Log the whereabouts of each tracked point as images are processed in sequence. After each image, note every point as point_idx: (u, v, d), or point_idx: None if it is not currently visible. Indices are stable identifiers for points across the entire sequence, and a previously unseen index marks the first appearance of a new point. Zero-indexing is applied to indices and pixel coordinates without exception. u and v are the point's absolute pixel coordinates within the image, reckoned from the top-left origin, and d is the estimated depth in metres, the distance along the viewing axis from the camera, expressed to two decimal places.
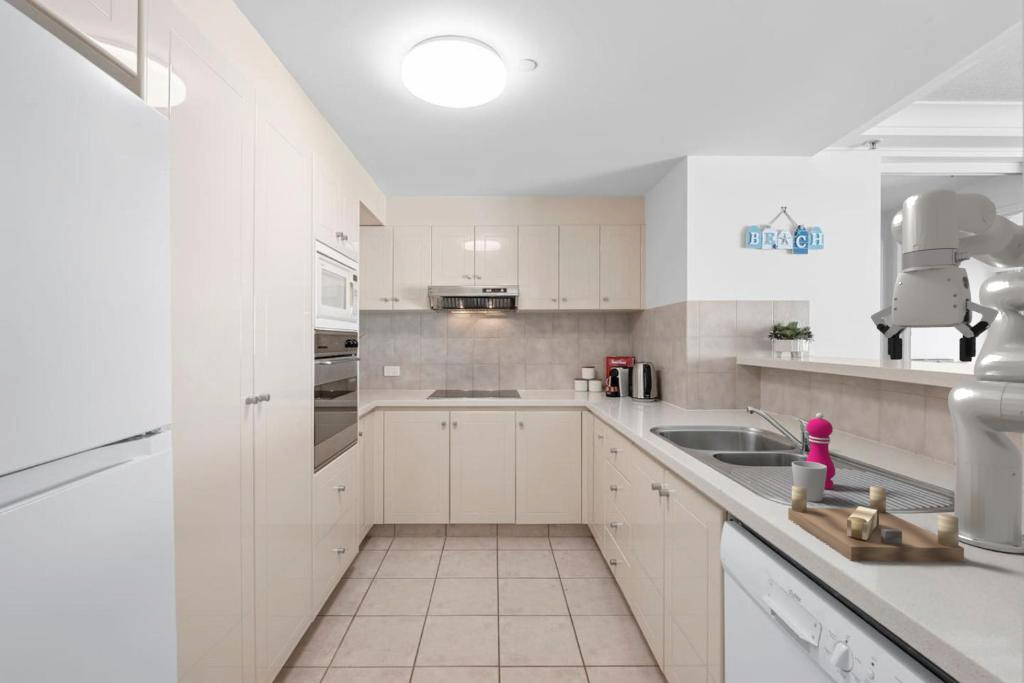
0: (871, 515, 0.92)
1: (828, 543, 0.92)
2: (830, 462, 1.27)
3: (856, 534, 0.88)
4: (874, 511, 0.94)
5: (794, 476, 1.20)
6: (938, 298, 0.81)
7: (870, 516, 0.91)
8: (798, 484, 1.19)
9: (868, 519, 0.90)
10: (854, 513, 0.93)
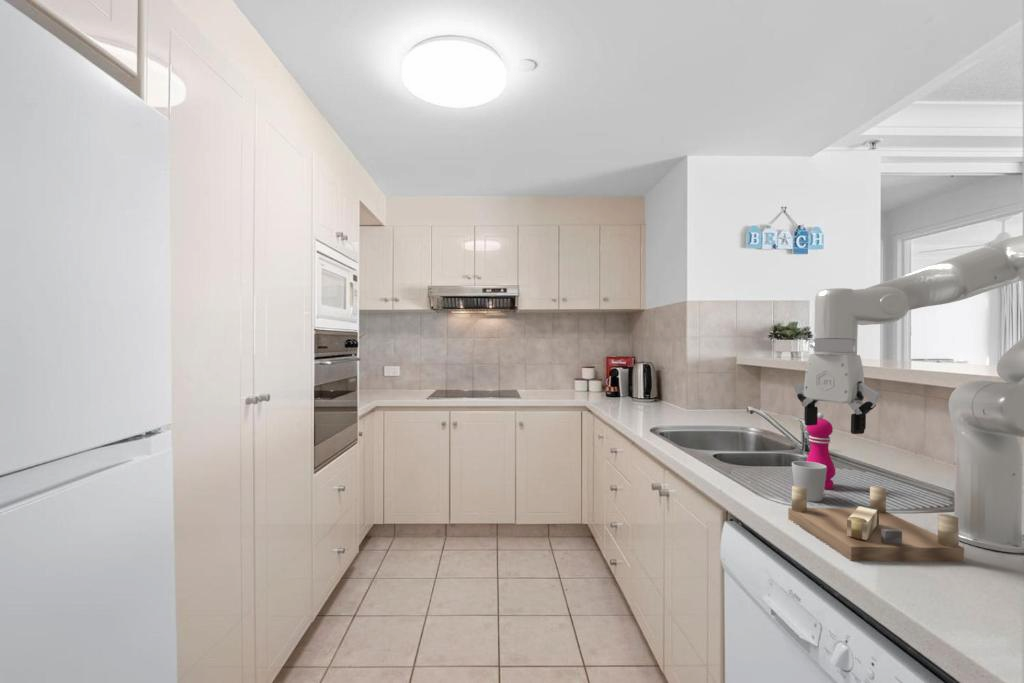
0: (871, 515, 0.92)
1: (828, 543, 0.92)
2: (830, 462, 1.27)
3: (856, 534, 0.88)
4: (874, 511, 0.94)
5: (794, 476, 1.20)
6: None
7: (870, 516, 0.91)
8: (798, 484, 1.19)
9: (868, 519, 0.90)
10: (854, 513, 0.93)
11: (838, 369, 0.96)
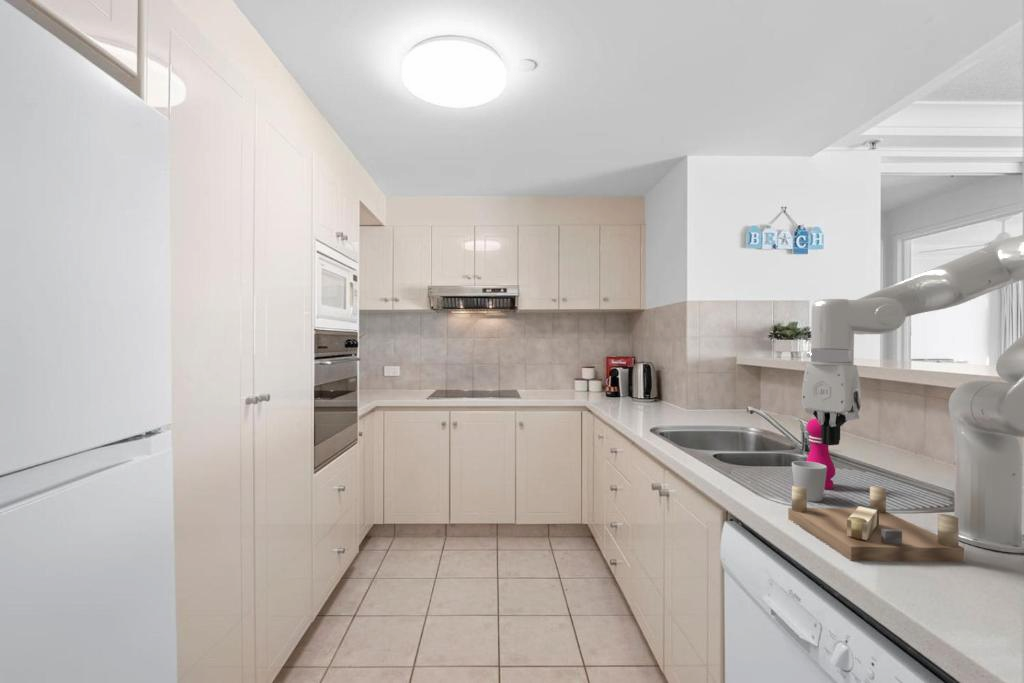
0: (871, 515, 0.92)
1: (828, 543, 0.92)
2: (830, 462, 1.27)
3: (856, 534, 0.88)
4: (874, 511, 0.94)
5: (794, 476, 1.20)
6: None
7: (870, 516, 0.91)
8: (798, 484, 1.19)
9: (868, 519, 0.90)
10: (854, 513, 0.93)
11: (834, 379, 0.97)
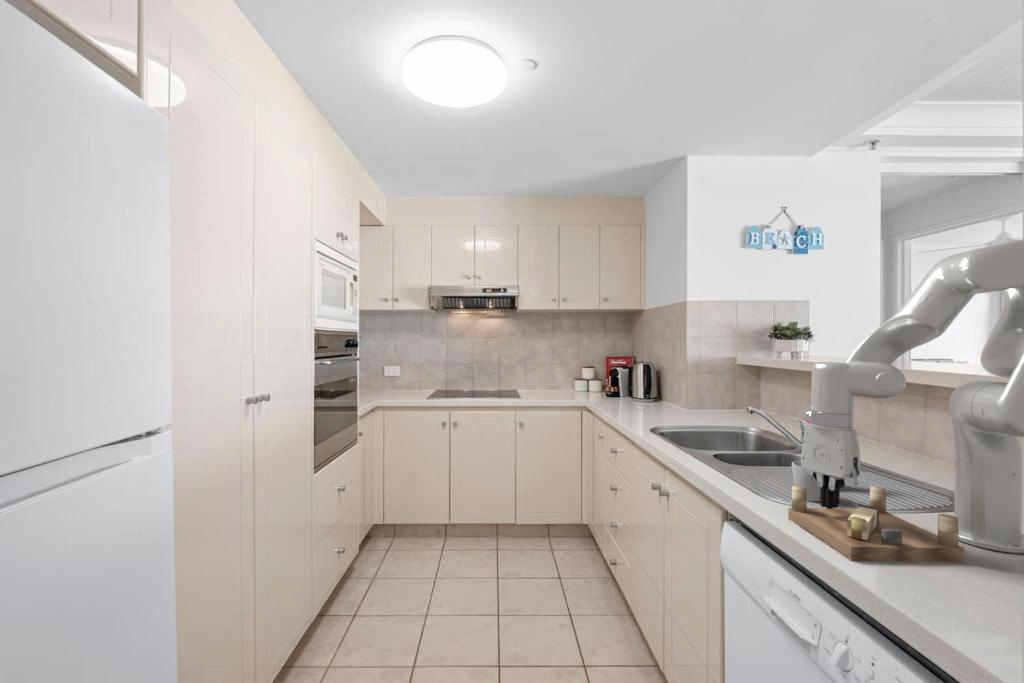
0: (871, 515, 0.92)
1: (828, 543, 0.92)
2: None
3: (856, 534, 0.88)
4: (874, 511, 0.94)
5: (794, 476, 1.20)
6: None
7: (870, 516, 0.91)
8: (798, 484, 1.19)
9: (868, 519, 0.90)
10: (854, 513, 0.93)
11: (834, 444, 0.97)
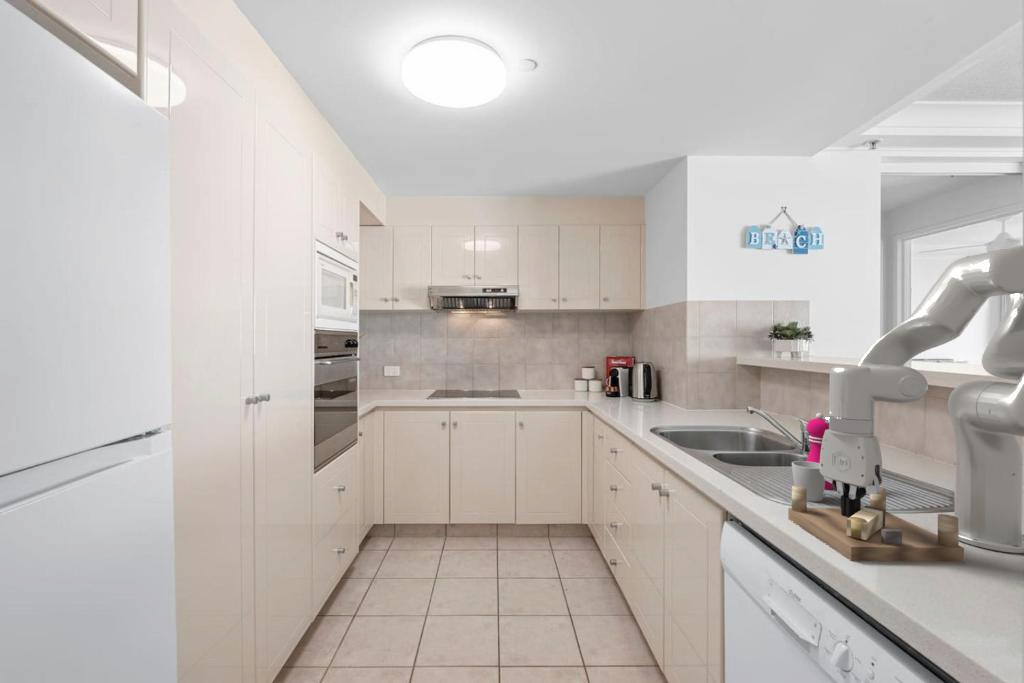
0: (874, 516, 0.91)
1: (828, 543, 0.92)
2: None
3: (855, 534, 0.89)
4: (879, 512, 0.93)
5: (794, 476, 1.20)
6: None
7: (872, 517, 0.91)
8: (798, 484, 1.19)
9: (869, 519, 0.90)
10: (856, 513, 0.93)
11: (854, 451, 0.93)
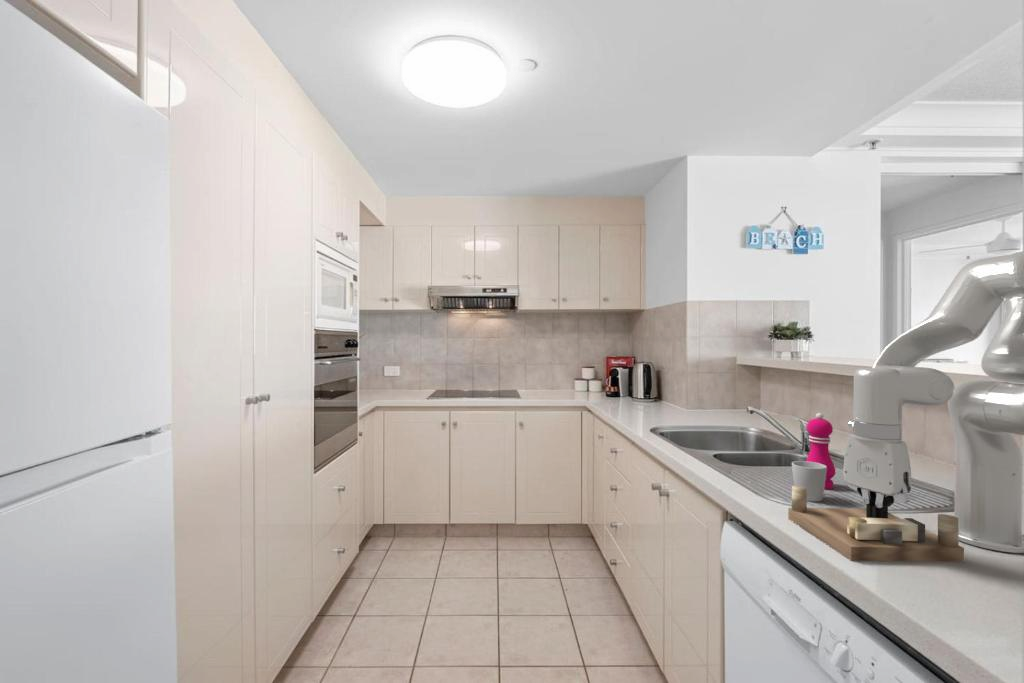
0: (890, 523, 0.88)
1: (828, 543, 0.92)
2: (830, 462, 1.27)
3: (850, 532, 0.89)
4: (908, 524, 0.88)
5: (794, 476, 1.20)
6: None
7: (886, 523, 0.88)
8: (798, 484, 1.19)
9: (873, 523, 0.88)
10: (874, 518, 0.90)
11: (881, 457, 0.89)
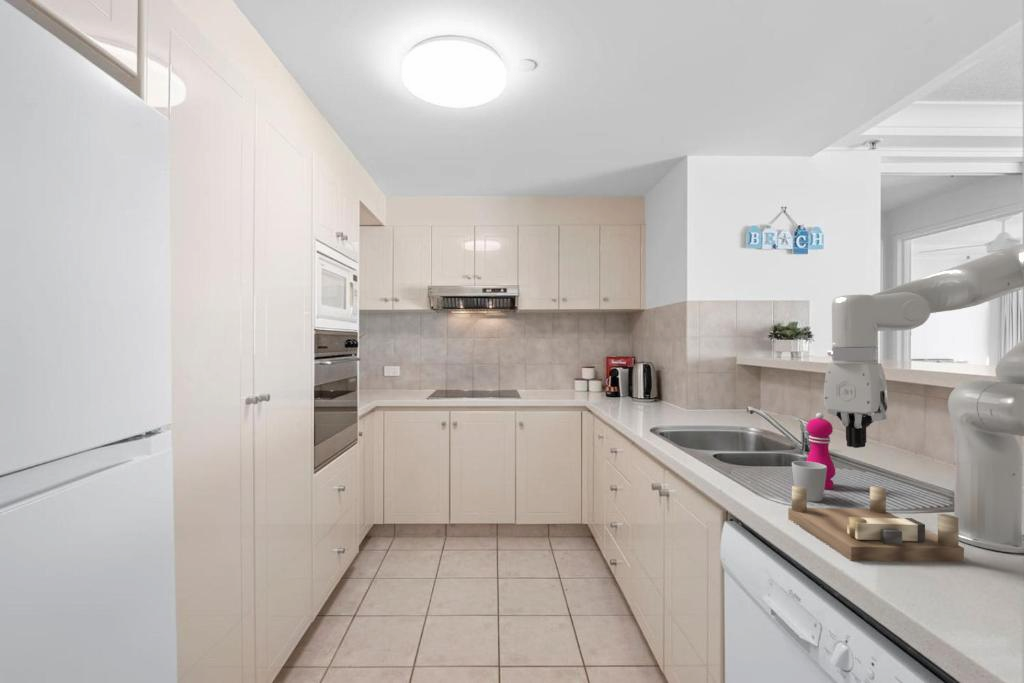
0: (890, 523, 0.88)
1: (828, 543, 0.92)
2: (830, 462, 1.27)
3: (850, 532, 0.89)
4: (908, 524, 0.88)
5: (794, 476, 1.20)
6: None
7: (886, 523, 0.88)
8: (798, 484, 1.19)
9: (873, 523, 0.88)
10: (874, 518, 0.90)
11: (859, 379, 0.93)
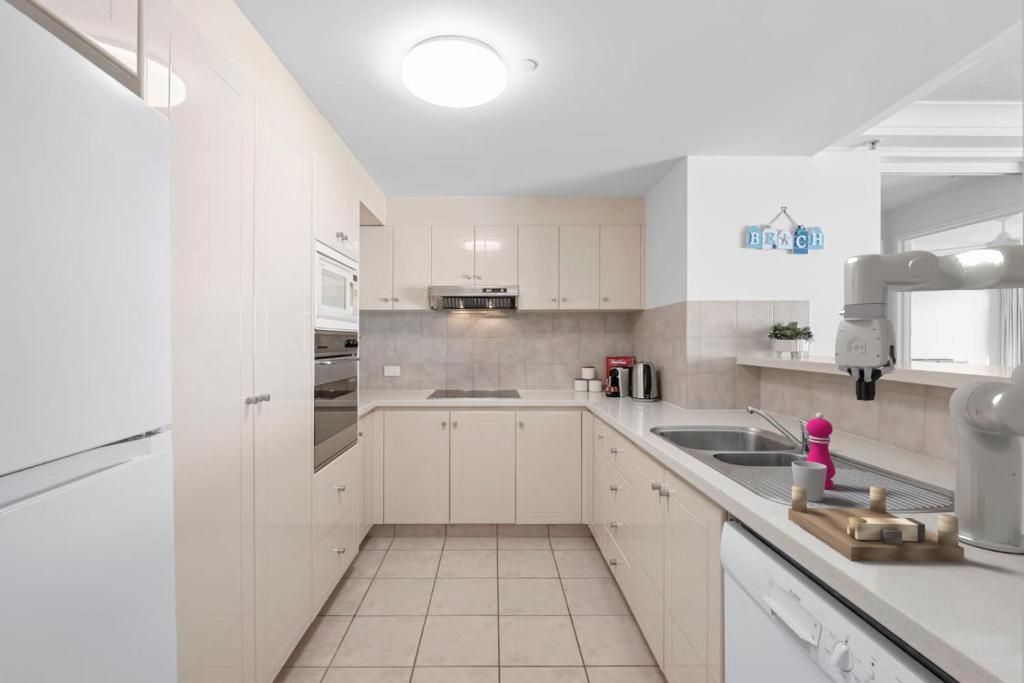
0: (890, 523, 0.88)
1: (828, 543, 0.92)
2: (830, 462, 1.27)
3: (850, 532, 0.89)
4: (908, 524, 0.88)
5: (794, 476, 1.20)
6: None
7: (886, 523, 0.88)
8: (798, 484, 1.19)
9: (873, 523, 0.88)
10: (874, 518, 0.90)
11: (870, 334, 0.97)
